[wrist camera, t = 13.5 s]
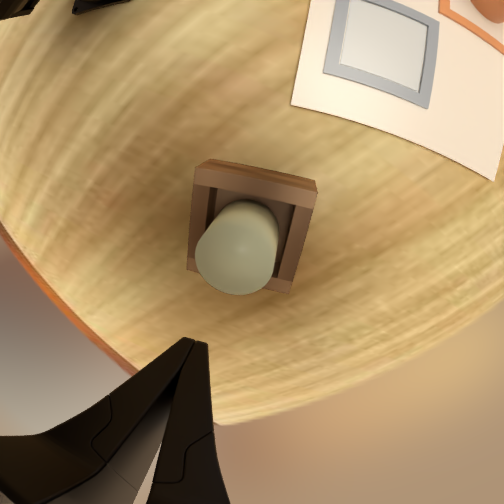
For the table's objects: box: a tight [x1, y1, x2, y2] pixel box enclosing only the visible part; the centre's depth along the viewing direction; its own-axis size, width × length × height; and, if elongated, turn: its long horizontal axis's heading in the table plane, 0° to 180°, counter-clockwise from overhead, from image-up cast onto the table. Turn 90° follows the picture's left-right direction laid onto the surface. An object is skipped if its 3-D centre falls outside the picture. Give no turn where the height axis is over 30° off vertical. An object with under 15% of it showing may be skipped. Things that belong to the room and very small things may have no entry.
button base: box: [187, 159, 318, 294], centre depth 18 cm, size 7×7×3 cm
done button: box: [195, 199, 280, 295], centre depth 16 cm, size 4×4×4 cm
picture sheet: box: [291, 0, 504, 182], centre depth 9 cm, size 18×22×1 cm
